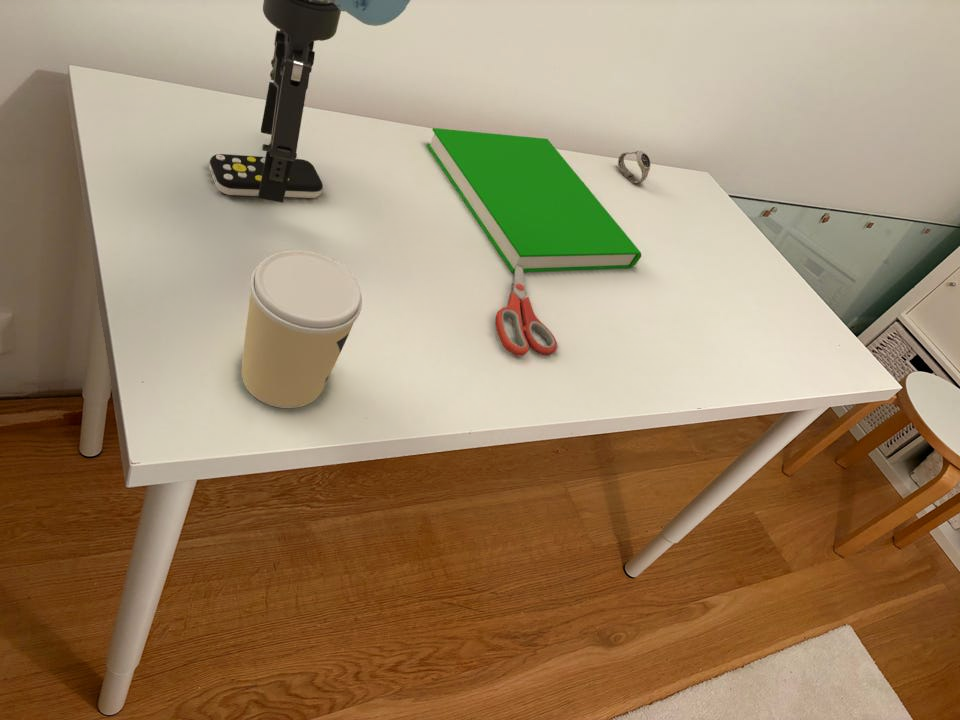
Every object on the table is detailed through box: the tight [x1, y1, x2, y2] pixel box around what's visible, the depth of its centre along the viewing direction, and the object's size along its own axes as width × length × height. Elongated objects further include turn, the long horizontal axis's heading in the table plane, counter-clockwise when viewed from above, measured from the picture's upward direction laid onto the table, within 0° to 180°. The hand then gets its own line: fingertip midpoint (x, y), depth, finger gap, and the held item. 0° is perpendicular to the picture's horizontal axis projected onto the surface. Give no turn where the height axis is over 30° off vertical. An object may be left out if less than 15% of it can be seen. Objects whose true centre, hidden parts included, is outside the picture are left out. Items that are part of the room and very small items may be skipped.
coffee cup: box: [241, 249, 363, 409], centre depth 64 cm, size 9×9×12 cm
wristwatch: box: [617, 150, 652, 184], centre depth 126 cm, size 4×6×5 cm, turn 42°
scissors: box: [495, 265, 558, 357], centre depth 90 cm, size 8×21×2 cm, turn 11°
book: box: [426, 127, 642, 274], centre depth 107 cm, size 22×28×3 cm
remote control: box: [208, 153, 323, 199], centre depth 87 cm, size 6×13×2 cm, turn 117°
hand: (271, 164), depth 86 cm, fingers open, 13 cm apart
